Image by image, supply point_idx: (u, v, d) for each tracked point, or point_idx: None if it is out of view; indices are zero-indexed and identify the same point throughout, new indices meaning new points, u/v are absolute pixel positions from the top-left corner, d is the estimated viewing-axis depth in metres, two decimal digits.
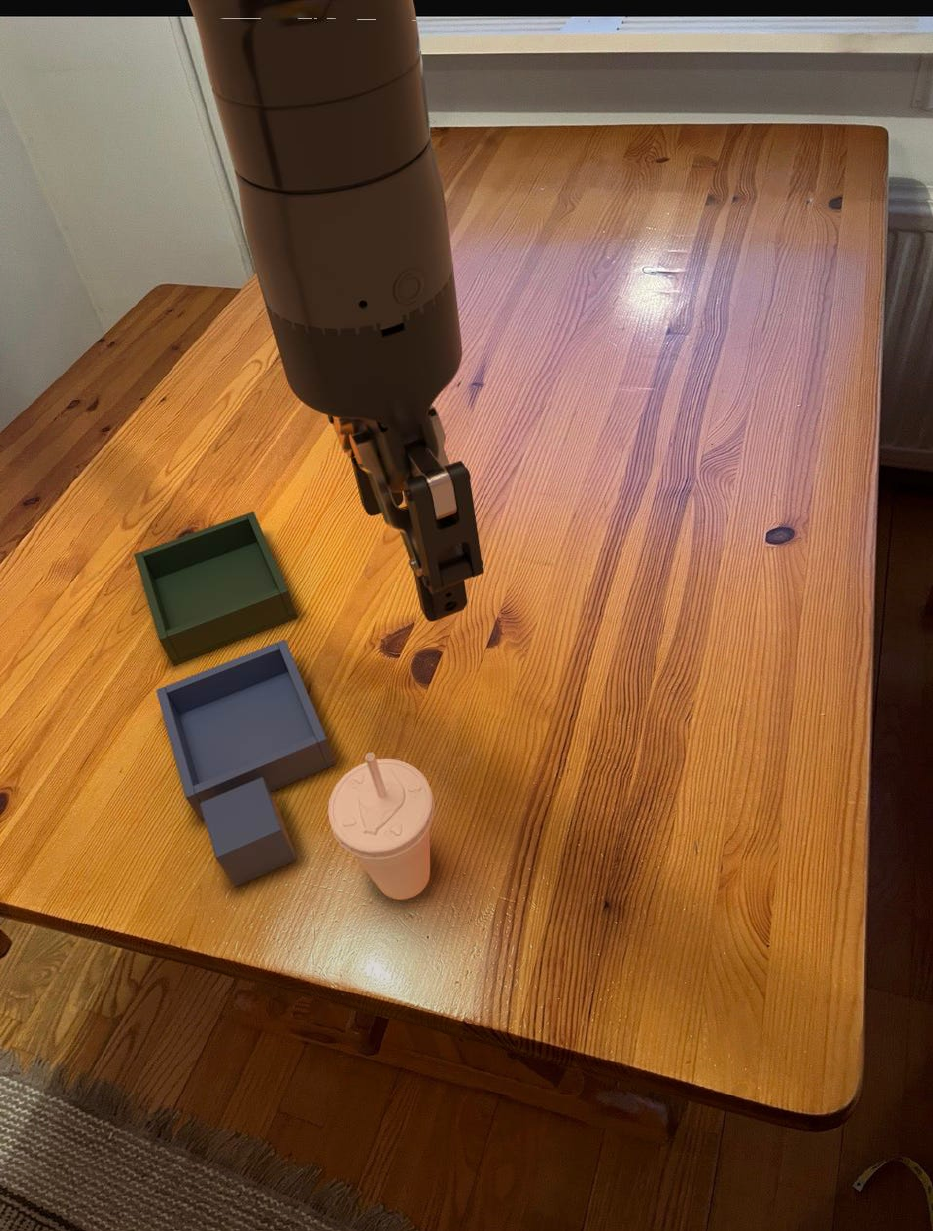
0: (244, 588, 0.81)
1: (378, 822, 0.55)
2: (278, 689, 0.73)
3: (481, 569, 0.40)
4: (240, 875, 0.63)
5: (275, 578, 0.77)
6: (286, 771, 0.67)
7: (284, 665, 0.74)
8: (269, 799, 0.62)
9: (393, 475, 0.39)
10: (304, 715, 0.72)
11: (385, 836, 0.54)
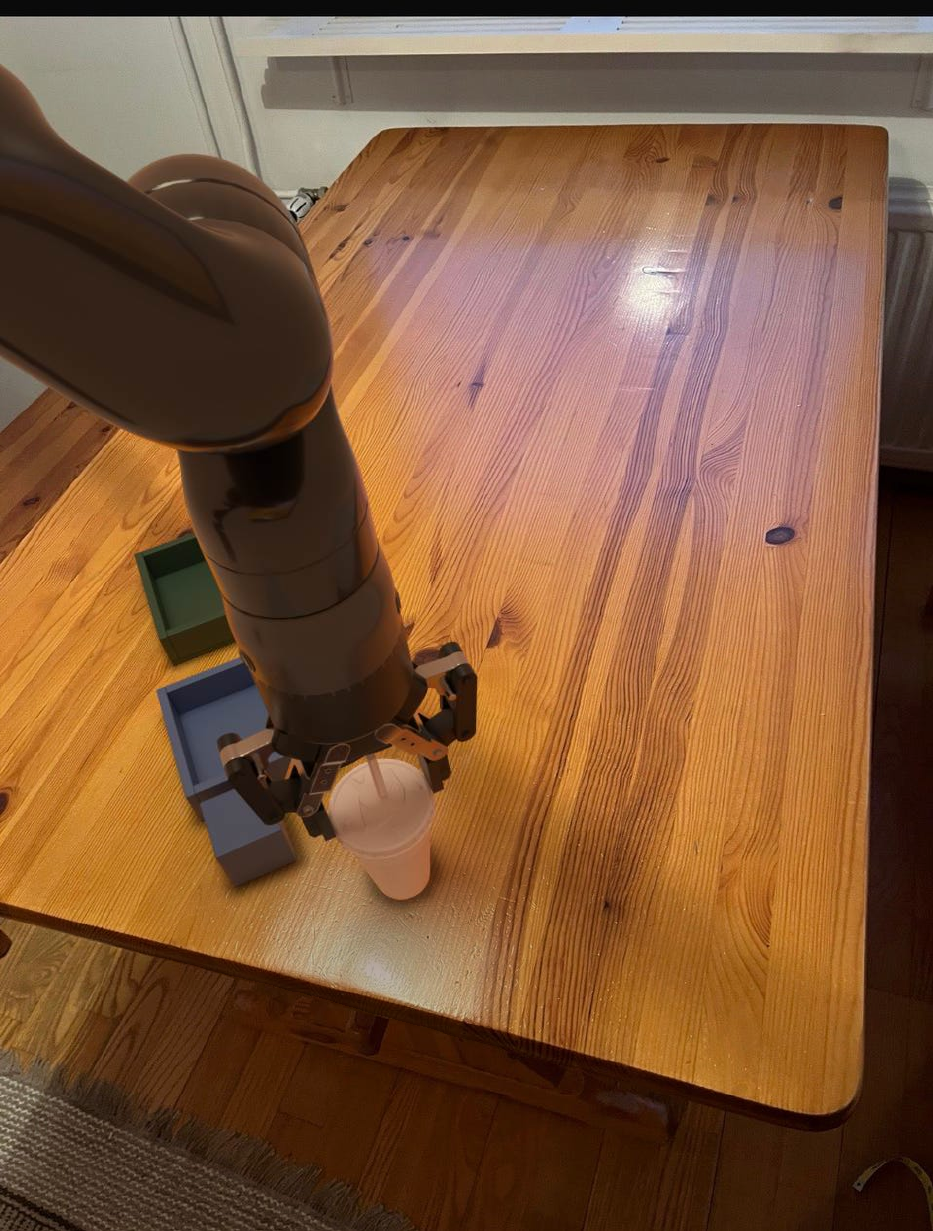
0: None
1: (378, 822, 0.55)
2: None
3: (262, 821, 0.50)
4: (240, 875, 0.63)
5: None
6: (286, 771, 0.67)
7: None
8: None
9: None
10: None
11: (385, 836, 0.54)
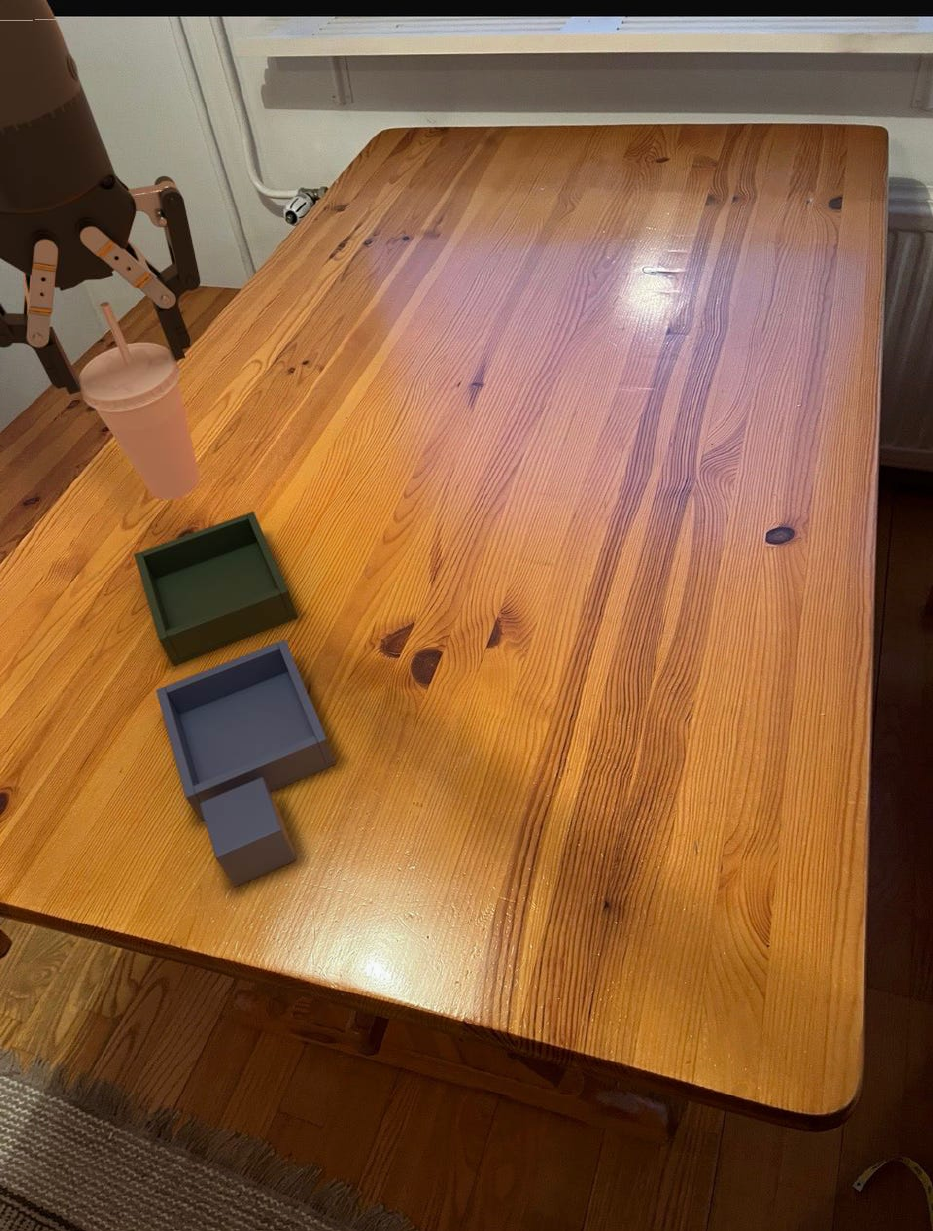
0: (244, 588, 0.81)
1: (120, 380, 0.59)
2: (278, 689, 0.73)
3: None
4: (240, 875, 0.63)
5: (275, 578, 0.77)
6: (286, 771, 0.67)
7: (284, 665, 0.74)
8: (269, 799, 0.62)
9: None
10: (304, 715, 0.72)
11: (125, 390, 0.59)
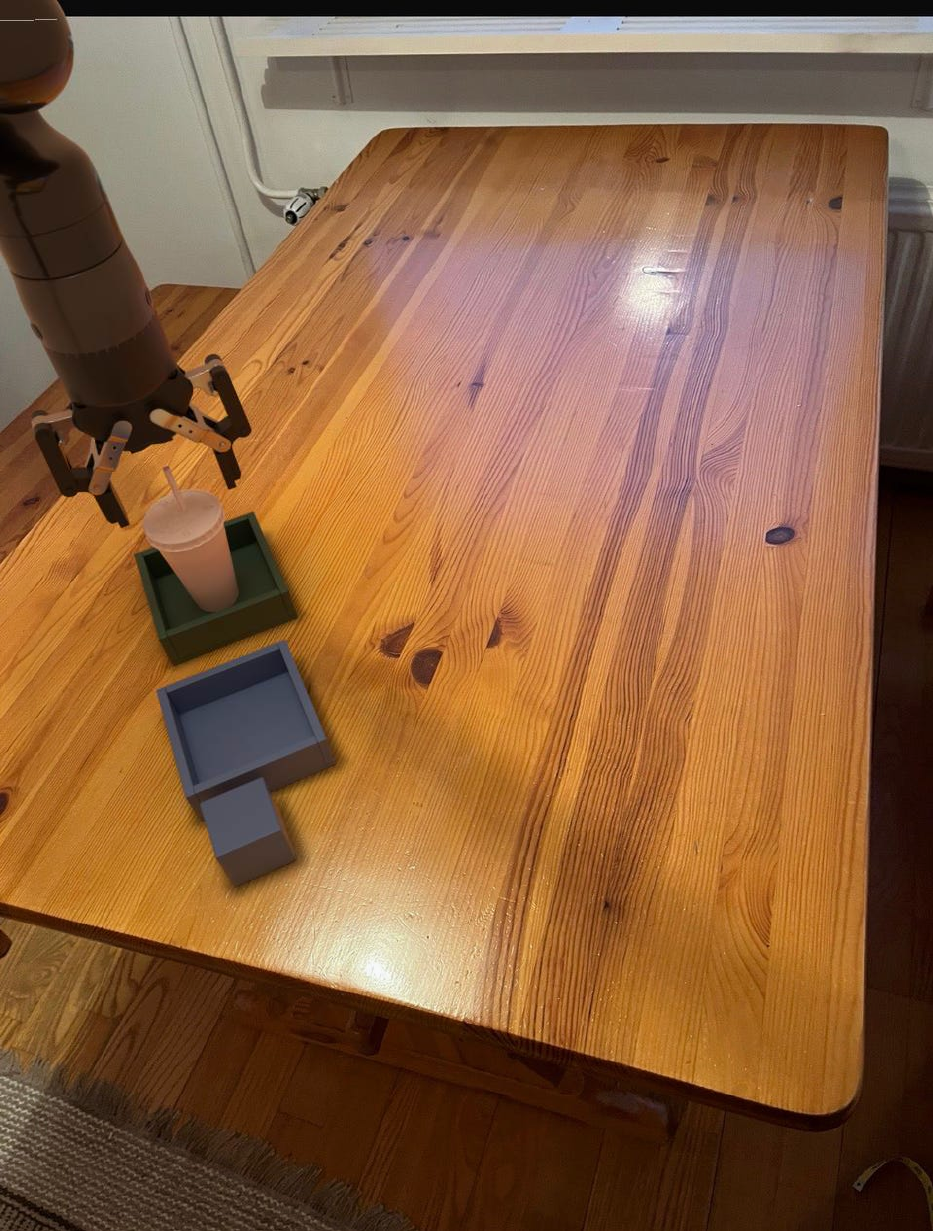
0: (244, 588, 0.81)
1: (177, 525, 0.72)
2: (278, 689, 0.73)
3: (60, 491, 0.66)
4: (240, 875, 0.63)
5: (275, 578, 0.77)
6: (286, 771, 0.67)
7: (284, 665, 0.74)
8: (269, 799, 0.62)
9: None
10: (304, 715, 0.72)
11: (181, 534, 0.72)
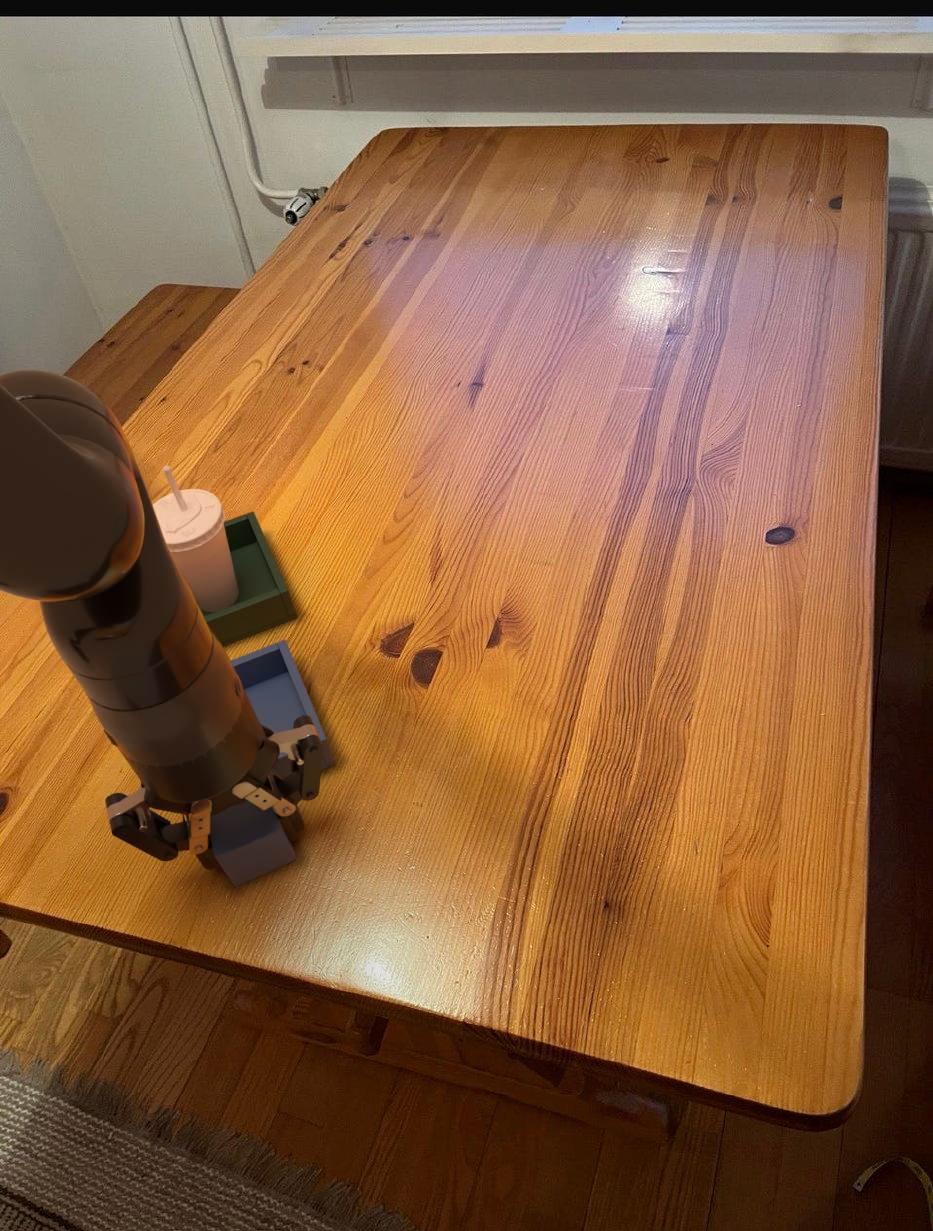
0: (244, 588, 0.81)
1: (178, 525, 0.72)
2: (278, 689, 0.73)
3: (160, 859, 0.60)
4: (240, 875, 0.63)
5: (275, 578, 0.77)
6: (286, 771, 0.67)
7: (284, 665, 0.74)
8: None
9: None
10: (304, 715, 0.72)
11: (181, 534, 0.72)
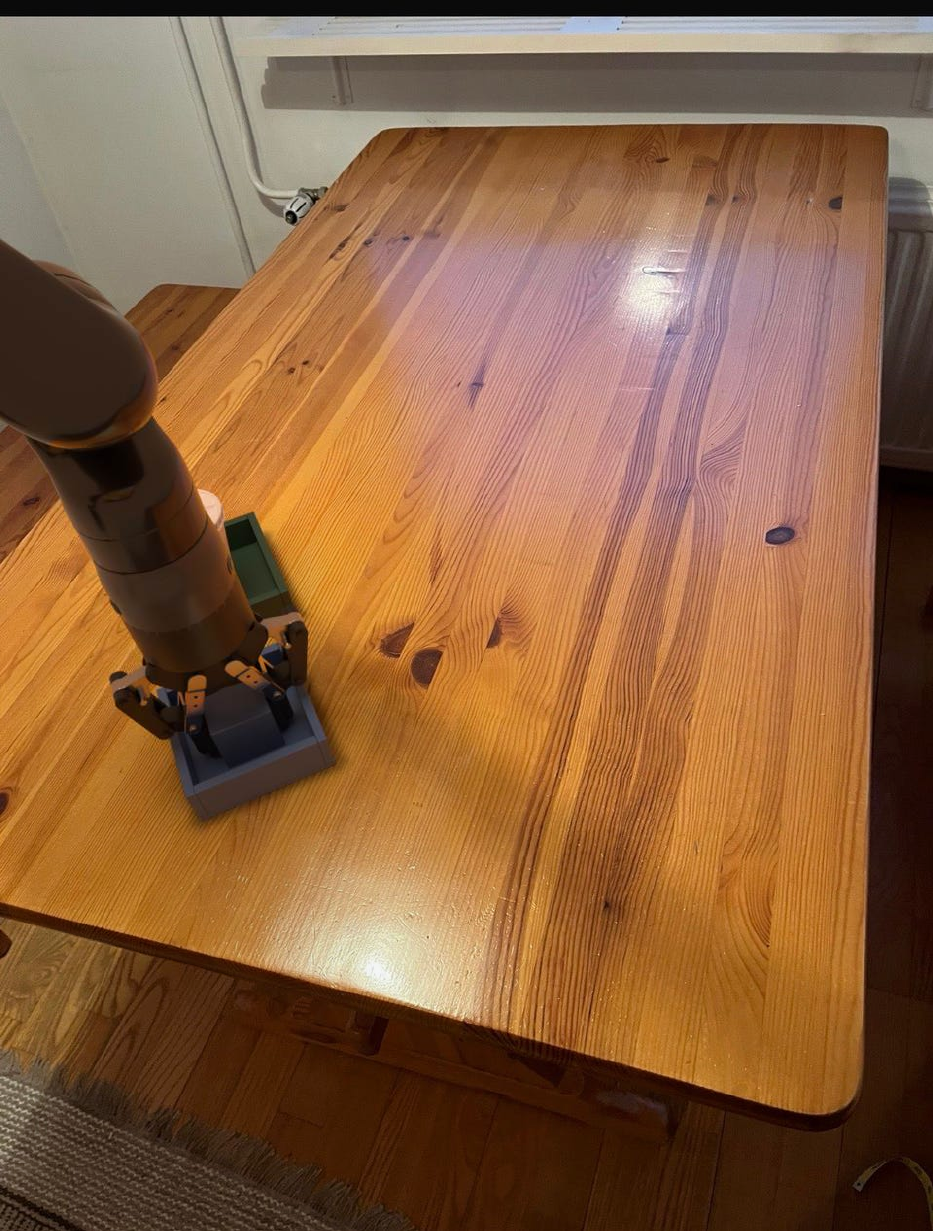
0: (244, 588, 0.81)
1: None
2: None
3: (157, 737, 0.65)
4: (233, 756, 0.68)
5: (275, 578, 0.77)
6: (286, 771, 0.67)
7: None
8: None
9: None
10: (304, 715, 0.72)
11: None
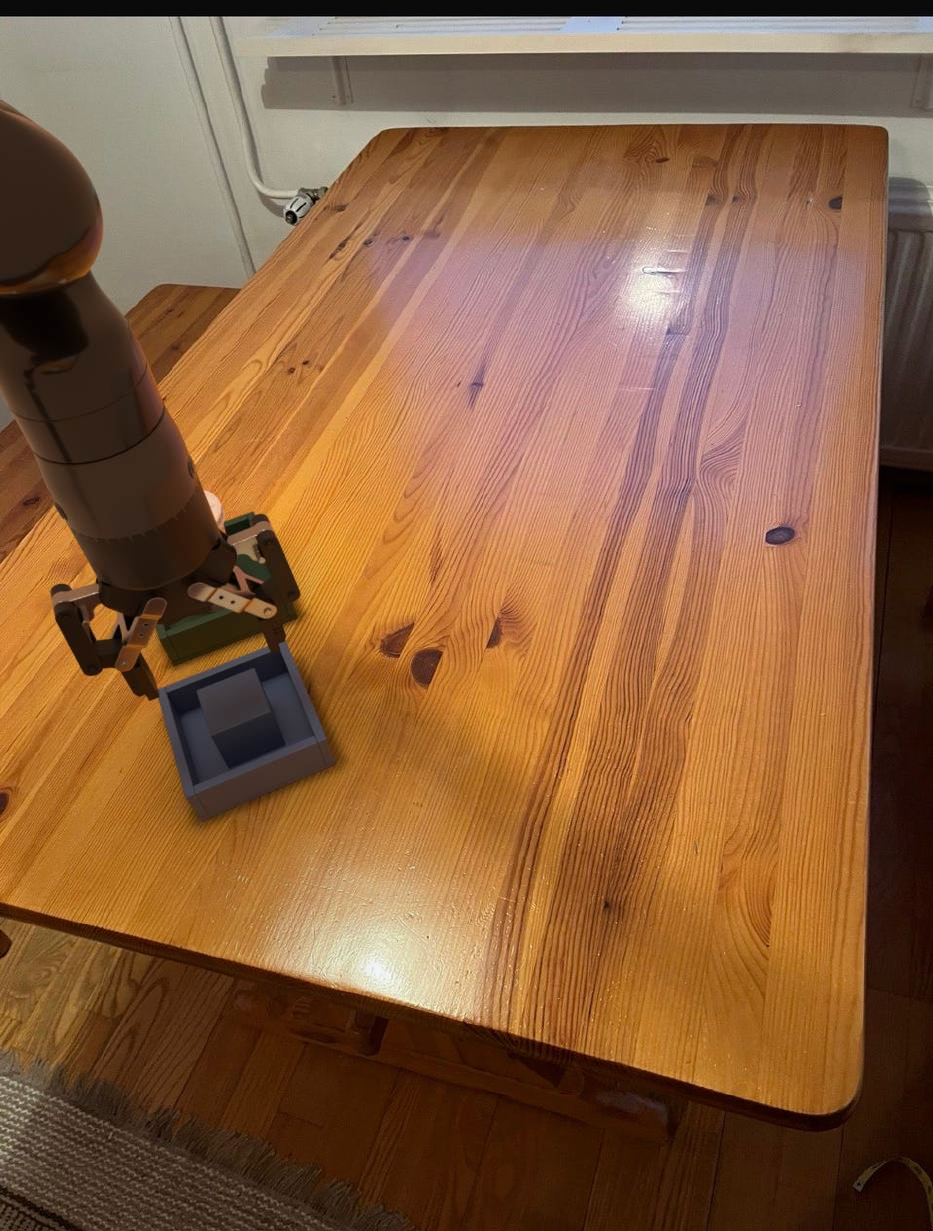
0: None
1: None
2: (278, 689, 0.73)
3: (82, 670, 0.58)
4: (233, 756, 0.68)
5: None
6: (286, 771, 0.67)
7: (284, 665, 0.74)
8: (260, 686, 0.68)
9: None
10: (304, 715, 0.72)
11: None
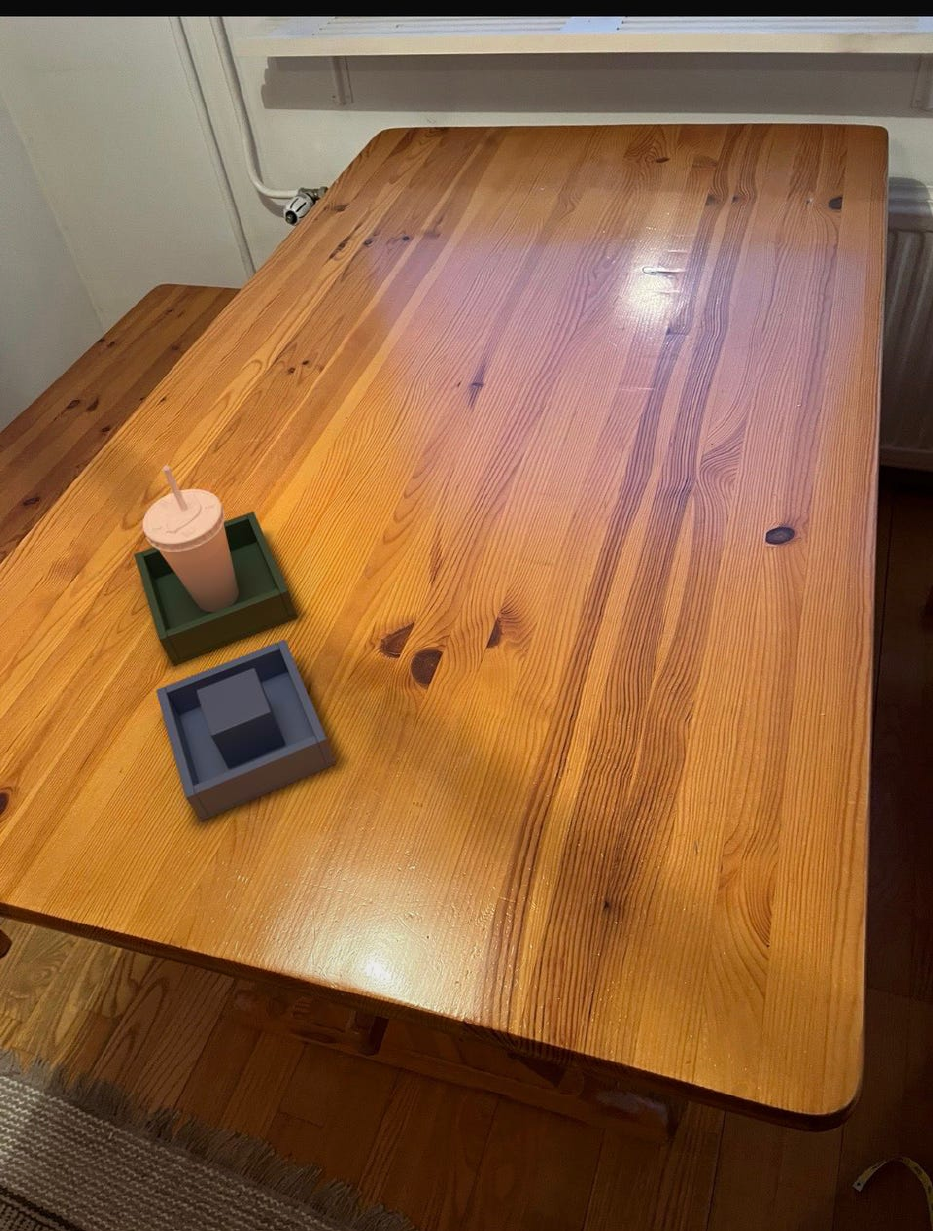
0: (244, 588, 0.81)
1: (178, 525, 0.72)
2: (278, 689, 0.73)
3: None
4: (233, 756, 0.68)
5: (275, 578, 0.77)
6: (286, 771, 0.67)
7: (284, 665, 0.74)
8: (260, 686, 0.68)
9: None
10: (304, 715, 0.72)
11: (181, 534, 0.72)
